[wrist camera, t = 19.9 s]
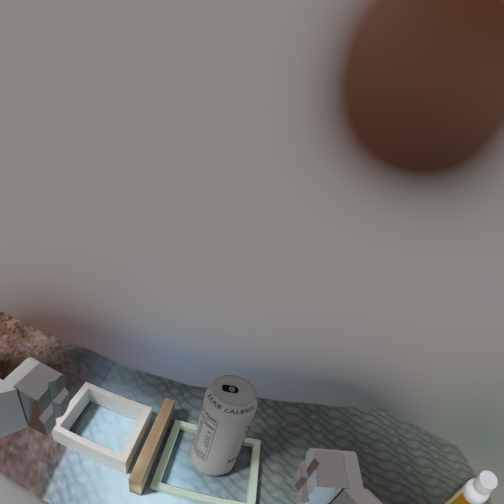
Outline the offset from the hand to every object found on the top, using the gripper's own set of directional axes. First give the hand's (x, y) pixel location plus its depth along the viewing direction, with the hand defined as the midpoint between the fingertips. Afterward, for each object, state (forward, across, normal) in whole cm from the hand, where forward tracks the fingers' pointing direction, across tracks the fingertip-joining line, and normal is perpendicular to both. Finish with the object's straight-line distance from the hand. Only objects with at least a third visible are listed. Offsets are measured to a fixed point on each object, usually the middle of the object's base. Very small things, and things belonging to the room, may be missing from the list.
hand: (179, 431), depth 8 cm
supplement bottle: (+11, -41, +30) cm, 52 cm away
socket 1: (+19, +13, +30) cm, 38 cm away
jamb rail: (+19, +6, +30) cm, 36 cm away
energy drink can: (+20, -2, +30) cm, 36 cm away
